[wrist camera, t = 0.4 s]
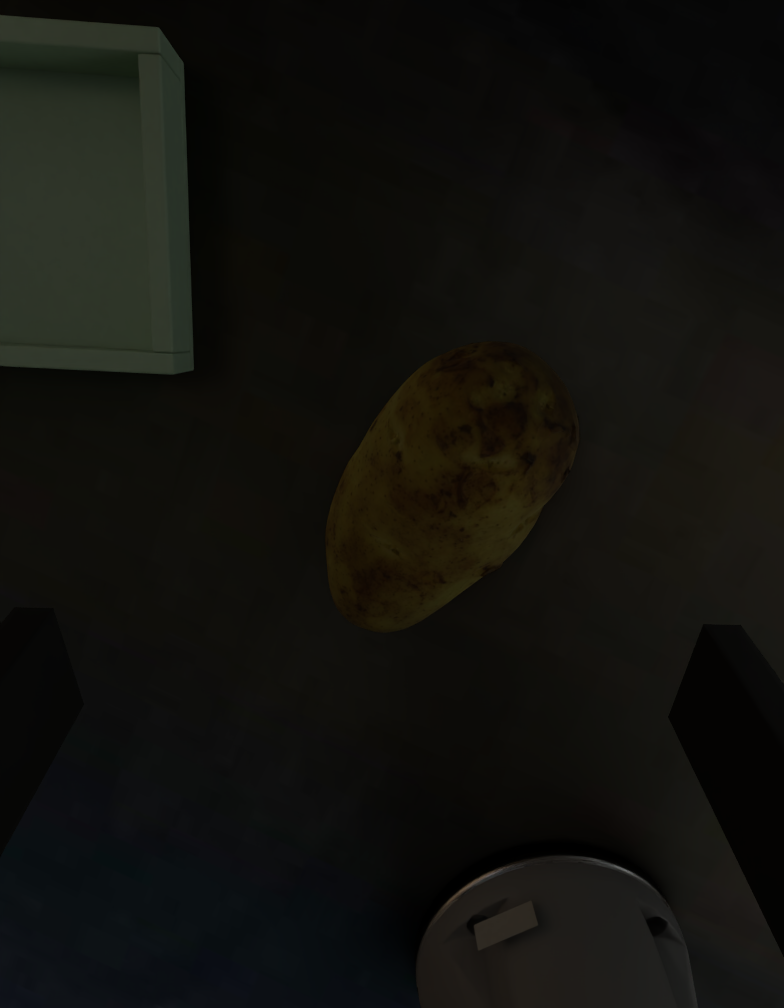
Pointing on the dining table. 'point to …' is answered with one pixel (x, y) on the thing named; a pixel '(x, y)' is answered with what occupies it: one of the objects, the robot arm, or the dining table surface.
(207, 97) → the dining table surface
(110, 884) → the dining table surface
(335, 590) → the potato
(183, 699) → the dining table surface
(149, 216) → the tray
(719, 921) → the dining table surface
